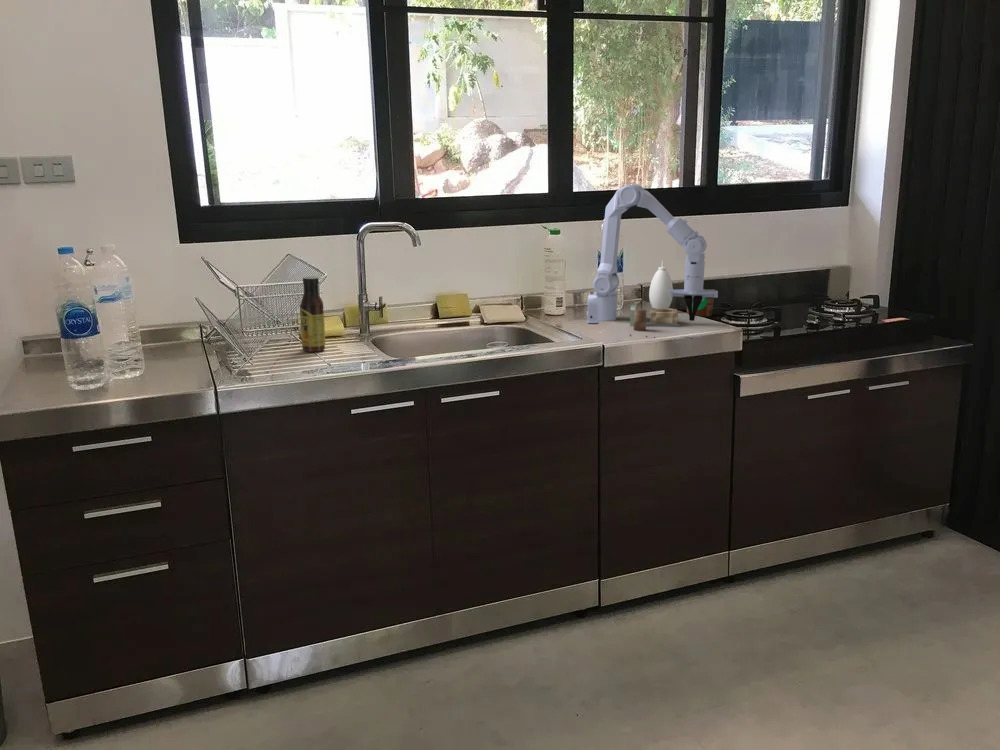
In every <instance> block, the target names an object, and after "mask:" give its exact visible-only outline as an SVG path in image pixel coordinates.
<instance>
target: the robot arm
mask: <svg viewBox="0 0 1000 750" xmlns="http://www.w3.org/2000/svg"><path fill="white" fill-rule="evenodd" d="M635 206H636V207H639V208H644V209H647V210H648V211H649V212H651V213H652V215H654V216H655V217H657V219H659V220H660V221H661V222H662V223H663V224H664V225H666V232H667V233H668V235H670V236H671V237H672V238H673V240H675V242H677V243H678V244H679V245H680V246H681V247H683V248H684V249H683V250H684V252H685V255H686V257H685V263H684V264H685V265H684V266H685V267H684V280H683V281H684V282H683V283H684V284H683V289H673V290H669V297H683V299H684V301H685V304H686V309H687V308H688V312H689V314H688V317H689V318H688V320H689V321H690V322H692V321H695V318H696V316H695V315H696V312H697V309H698V307H699V305H700V303H701V301H702V297H714V299H715V298H719V297H718V296H719V291H718V290H715V291H713V290H703V289H704V279H705V277H704V276H705V264H706V263H705V258H706V257H705V252H706V249H707V247H708V245H707V244H708V243H707V241H706V238H704V236H703V235H699V234H700V233H699V231H697V230H694V229H693V228H692V227H691V226H690V225H689V224H688V220H686V218H684V219H683V218H682V217H674V216H673V215H672V214H671V213H670V212H669V211H668V210H667V209H666V208H665V206H664V205H663V204H661V203H660V201H659V200H657V198H656V197H655V196H654V195H652V194H651V192H649V191H648V190H647V189H644V187H643V186H642V185H640V184H636V183H635V184H634V183H633V184H625V185H623V186H622V187H620V188H619V189H617V190H616V191H615V193H614V195H613V197H612V198H611V199H610V200H609V202H608V203H607V205H606V206H605V211H604V219H603V220H604V223H603V232H602V242H601V254H600V263H599V266H598V268H597V271H596V277H595V278H594V280H593V282H592V288H593V290H594V292H593V293H591V294H588V295H587V311H586V318H587V319H586V323H587V324H599V322H601V321H603V322H606V321H607V322H608V321H609V322H611V321H616V320H617V315H618V314H617V312H618V311H617V310H618V292H617V290H616V289H618V287H619V285H620V279H619V276H618V267H617V259H618V251H619V250H618V249H619V241H620V230H621V229H620V228H621V222H622V221H621V219H622V215H623V213H625V212H626V211H628V210H629V209H630V208H632V207H635ZM687 294H694V295H687ZM697 294H700V295H697ZM692 297H693V298H692ZM692 304H693V311H692Z"/></svg>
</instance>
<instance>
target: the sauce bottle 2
mask: <svg viewBox="0 0 1000 750" xmlns="http://www.w3.org/2000/svg"><path fill="white" fill-rule="evenodd" d="M673 287H674V286H673V282H672V278H671V276H670V274H669V272H668V271H667V267H665V266H664V259H662V261H661V266H659V267H658V268H657V271H655V273H654V275H653V277H652V279H651V282H650V285H649V291H648V297H649V303H650V306H651V308H654V309H670V307H671V304H672V302H673V297H674V296H673V297H669V290H674V288H673Z"/></svg>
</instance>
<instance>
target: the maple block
mask: <svg viewBox="0 0 1000 750" xmlns="http://www.w3.org/2000/svg"><path fill="white" fill-rule="evenodd" d="M678 316H679V312H678V309H677V308H667V309H655V308H652V307H651V308H650V317H649V318H650V321H649V323H657V324H678V322H677V320H678V321H679V318H678Z"/></svg>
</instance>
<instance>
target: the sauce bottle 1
mask: <svg viewBox="0 0 1000 750" xmlns="http://www.w3.org/2000/svg"><path fill="white" fill-rule="evenodd" d="M319 280H320V279H319V277H317V276H304V277H302V283H303V284H302V285H303V295H302V299H301V303H300V304H299V305H300V306H299V315H300V332H301V333H300V334H301V335H300V336H301V346H302V350H303V351H304V352H306V353H315V352H323V351H325V349H326V348H325V347H326V333H325V332H326V331H325V327H326V326H325V325H326V324H325V312H324V302H323V300H322V297H320V295H319V283H320V282H319Z"/></svg>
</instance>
